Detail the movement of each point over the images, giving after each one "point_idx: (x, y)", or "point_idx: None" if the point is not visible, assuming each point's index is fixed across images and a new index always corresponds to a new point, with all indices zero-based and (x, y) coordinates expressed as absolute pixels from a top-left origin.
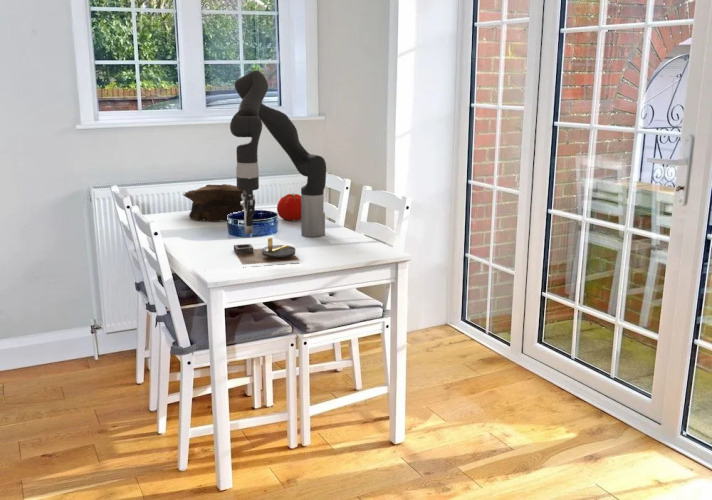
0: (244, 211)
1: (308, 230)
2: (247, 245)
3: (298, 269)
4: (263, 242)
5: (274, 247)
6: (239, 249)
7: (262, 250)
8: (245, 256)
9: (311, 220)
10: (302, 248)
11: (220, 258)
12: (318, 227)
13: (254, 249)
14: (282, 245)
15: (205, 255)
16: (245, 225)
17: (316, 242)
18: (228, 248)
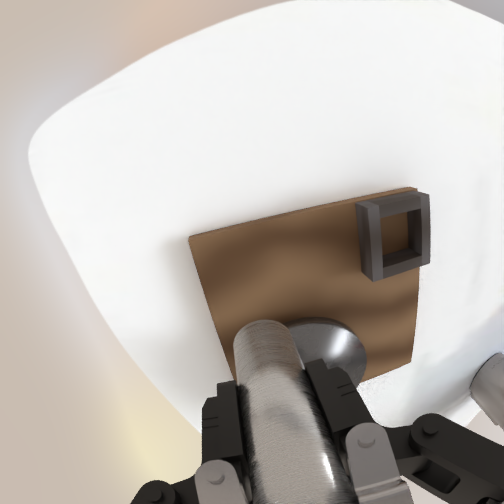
0: (283, 476)
1: (486, 380)
2: (420, 251)
3: (176, 404)
4: (488, 279)
5: (336, 364)
6: (367, 221)
7: (296, 330)
8: (322, 243)
9: (495, 400)
10: (404, 386)
11: (349, 131)
12: (480, 401)
13: (413, 269)
14: (357, 382)
15: (393, 77)
16: (249, 368)
17: (437, 397)
18: (465, 170)
